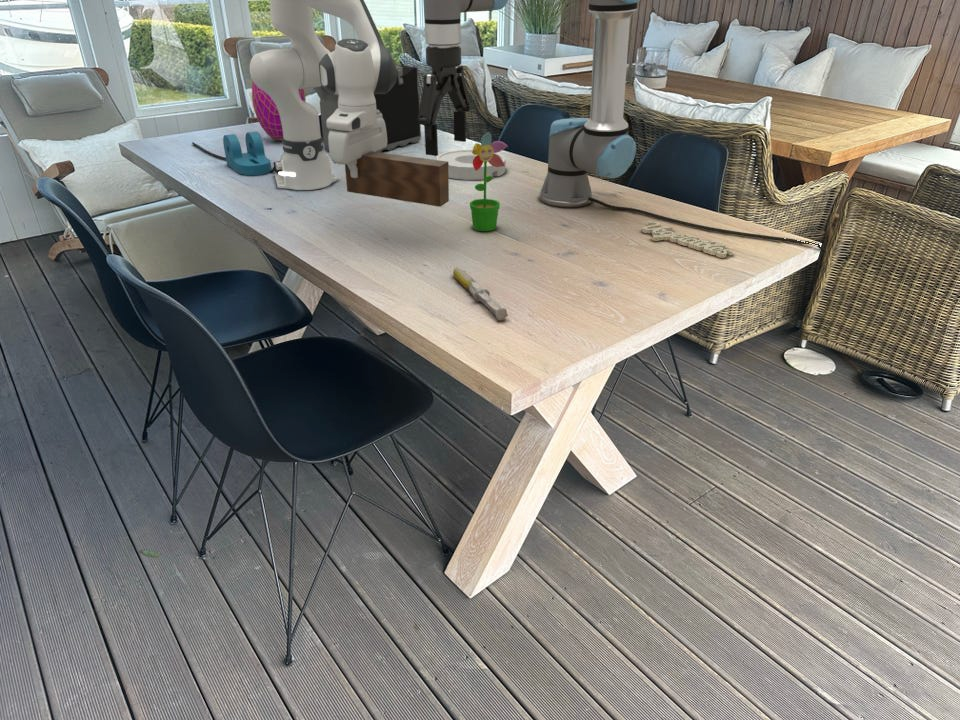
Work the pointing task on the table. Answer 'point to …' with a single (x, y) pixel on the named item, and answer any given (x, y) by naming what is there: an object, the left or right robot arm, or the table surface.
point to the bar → (401, 178)
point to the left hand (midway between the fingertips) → (362, 174)
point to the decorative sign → (685, 240)
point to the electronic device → (385, 109)
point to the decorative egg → (269, 112)
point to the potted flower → (485, 208)
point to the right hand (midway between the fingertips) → (446, 147)
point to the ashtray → (468, 165)
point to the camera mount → (246, 154)
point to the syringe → (479, 293)
